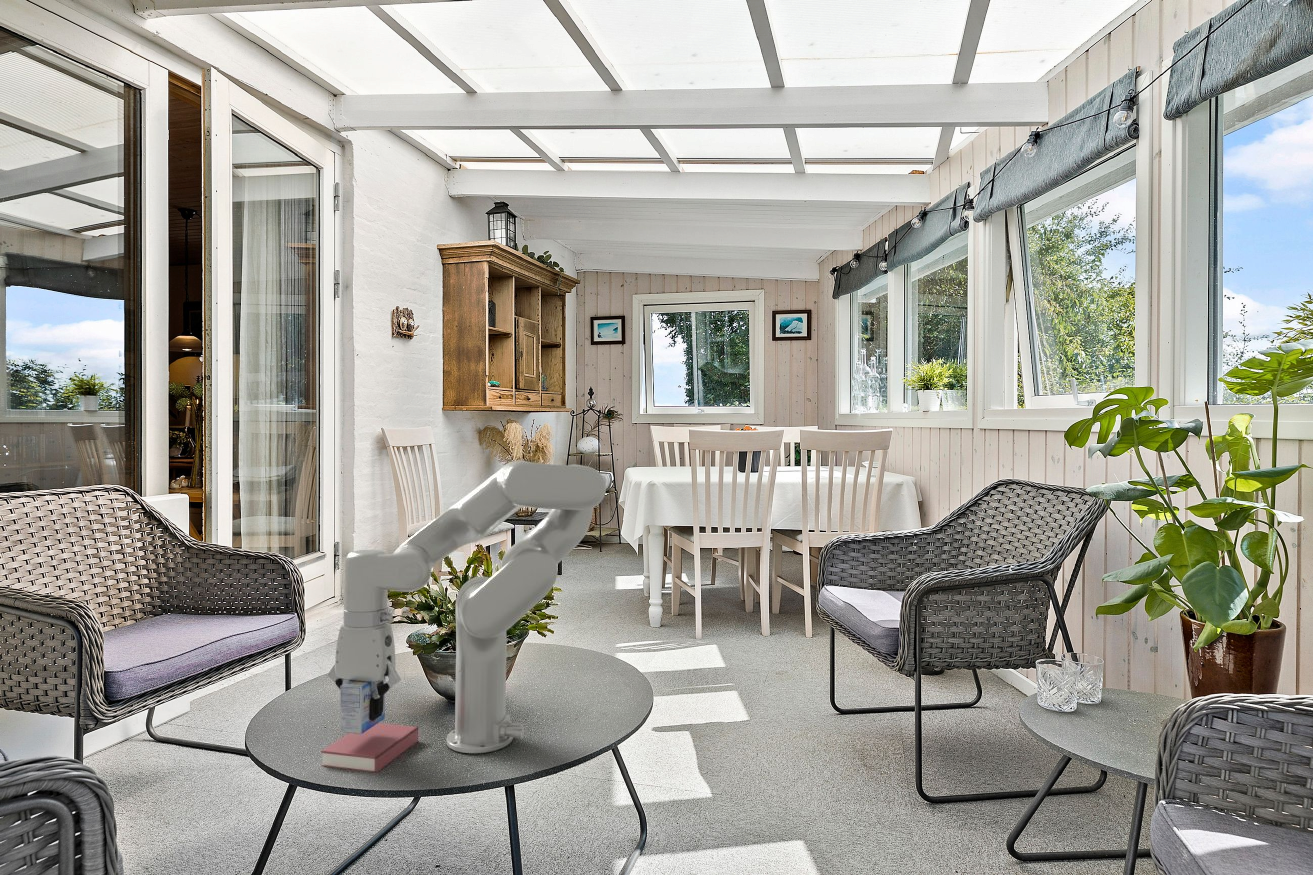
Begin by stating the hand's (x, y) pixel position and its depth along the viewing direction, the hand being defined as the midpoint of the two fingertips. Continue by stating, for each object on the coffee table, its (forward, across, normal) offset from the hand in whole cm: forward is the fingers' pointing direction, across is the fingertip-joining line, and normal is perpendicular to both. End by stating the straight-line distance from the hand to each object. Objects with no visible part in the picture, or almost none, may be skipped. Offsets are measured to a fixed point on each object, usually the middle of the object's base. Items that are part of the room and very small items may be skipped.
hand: (363, 715), depth 139 cm
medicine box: (+2, 0, 0) cm, 2 cm away
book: (+8, -1, -1) cm, 8 cm away
